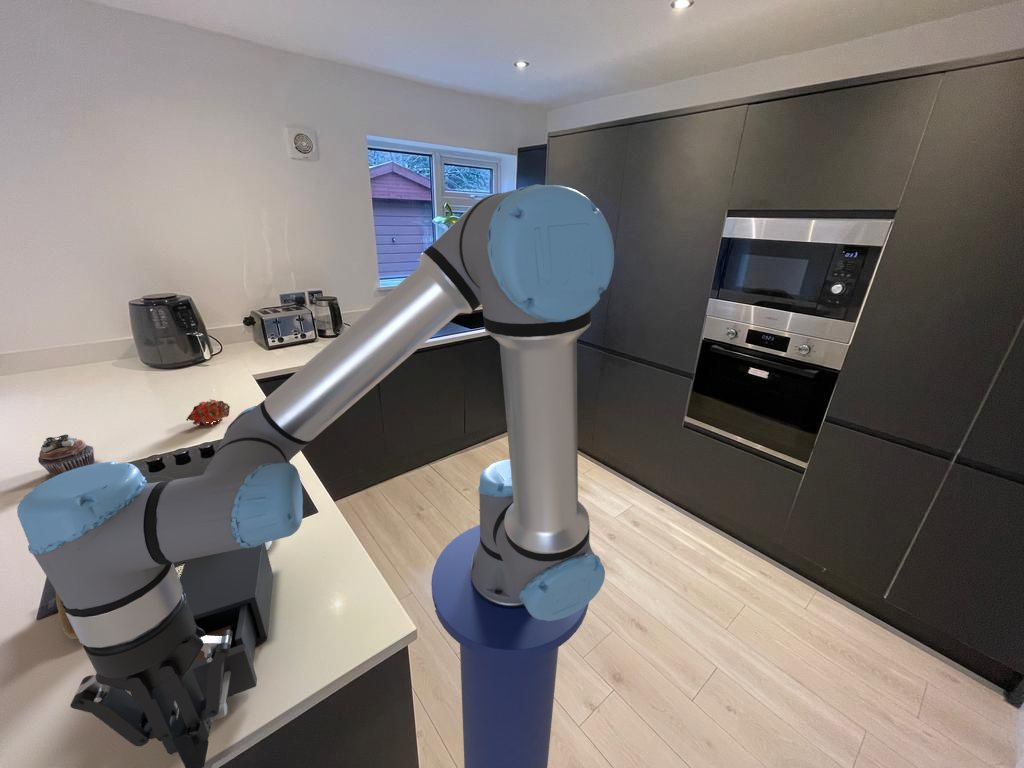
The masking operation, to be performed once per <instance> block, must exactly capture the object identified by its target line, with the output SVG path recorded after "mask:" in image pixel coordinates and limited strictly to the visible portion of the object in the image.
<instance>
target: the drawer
mask: <svg viewBox="0 0 1024 768" xmlns="http://www.w3.org/2000/svg"><path fill="white" fill-rule="evenodd" d="M194 621H195V624H196V626H198V627H199V628H201V629H203V630H204V632H205V634H207V633H210V632H213V631H216V630H219V629H222V628H225V627H228V626H232V629H233V632H234V635H235V642H236V645H237V646H236V647H234V648H231V649H230V650H229V654H228V656H227V657H226V659H225V661H224V672H223V687H222V695H221V701H220V707H219V712H218V714H217V715H216V716H214V717H210V718H209V719H210V721H211V723H212V722H214V721H216V720H219V719H221V718H224V717H226V716H227V714H228V704H227V699H228V698H231V697H233V696H235V695H238V694H240V693H243V692H245V691H248V690H250V689H253V688H256V687H257V684H258V683H257V682H258V677H257V673H256V671H255V668H254V659H255V651H256V650H255V649H256V643H255V642H256V634H257V623H256V620H255V617H254V613H253V610H252V606H251V603H247V604H244V605H241V606H237V607H234V608H231V609H228V610H225V611H221V612H218V613H215V614H212V615H208V616H205V617H202V618H199V619H196V620H194ZM206 660H207V658H202V659H199V660H196V661H194V662H193V663H192V665H191V667H192V670H193V672H194V675H195V677H196V680H197V682H198V685H199V687H200V690H201V692H202V695H203V697H204V699H205V698H206V695H207V677H208V668H209V663H210V662H206ZM169 694H170V696H171V699H172V701H173V703H174V705H175V706H176V709H177V707H178V706H177V703H176V701H175V699H174V697H173V694H172V693H169ZM179 714H181V712H180V710H179V709H178V712H177V716H176V717H177V718H178V715H179Z"/></svg>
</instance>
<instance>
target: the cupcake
mask: <svg viewBox="0 0 1024 768" xmlns="http://www.w3.org/2000/svg"><path fill="white" fill-rule="evenodd" d="M94 452H95V451H94V447H93V445H88V444H87V443H86V442H85V441H84V440H82V439H79V438H77V437H75V436H70V435H69V434H62V435H59V436H56V437H55V436H54V437H52V436H49V437H46V438H45V440H44V441H43V444H42V445H41V446H40V450H39V455H38V458H37V460H38V464H39V465H41V466H42V467H43V468H44V469H45V470H46V471H47V472H48V473H49V474H50V476H51V478H52V477H55V476H57V475H59V474H62V473H64V472H67V471H70V470H73V469H76V468H79V467H83V466H87V465H92V464H96V462H95V453H94Z"/></svg>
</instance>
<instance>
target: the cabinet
mask: <svg viewBox="0 0 1024 768" xmlns="http://www.w3.org/2000/svg"><path fill="white" fill-rule="evenodd" d="M179 579H180V582H181V585H182V590H183V592H184V593H185V595H186V598H187V600H188V603H189V606H190V609H191V611H192V614H193V617H194V620H196V619H199V618H202V617H205V616H208V615H212V614H215V613H218V612H221V611H225V610H228V609H231V608H234V607H237V606H241V605H244V604H247V603H251V606H252V610H253V613H254V617H255V620H256V623H257V634H256V642H255V644H257V643H260V642H263V641H266V640H268V636H269V626H270V625H269V624H270V617H271V605H272V597H273V596H272V595H273V583H274V573H273V568H272V565H271V561H270V558H269V553H268V550H267V549H266V545H265V543H262V544H261V545H258V546H257V547H253V548H242V549H237V550H232V551H227V552H223V553H218V554H213V555H208V556H203V557H198V558H193V559H188V560H185V562H184V565H183V567H182V570H181V573H180V576H179Z"/></svg>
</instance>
